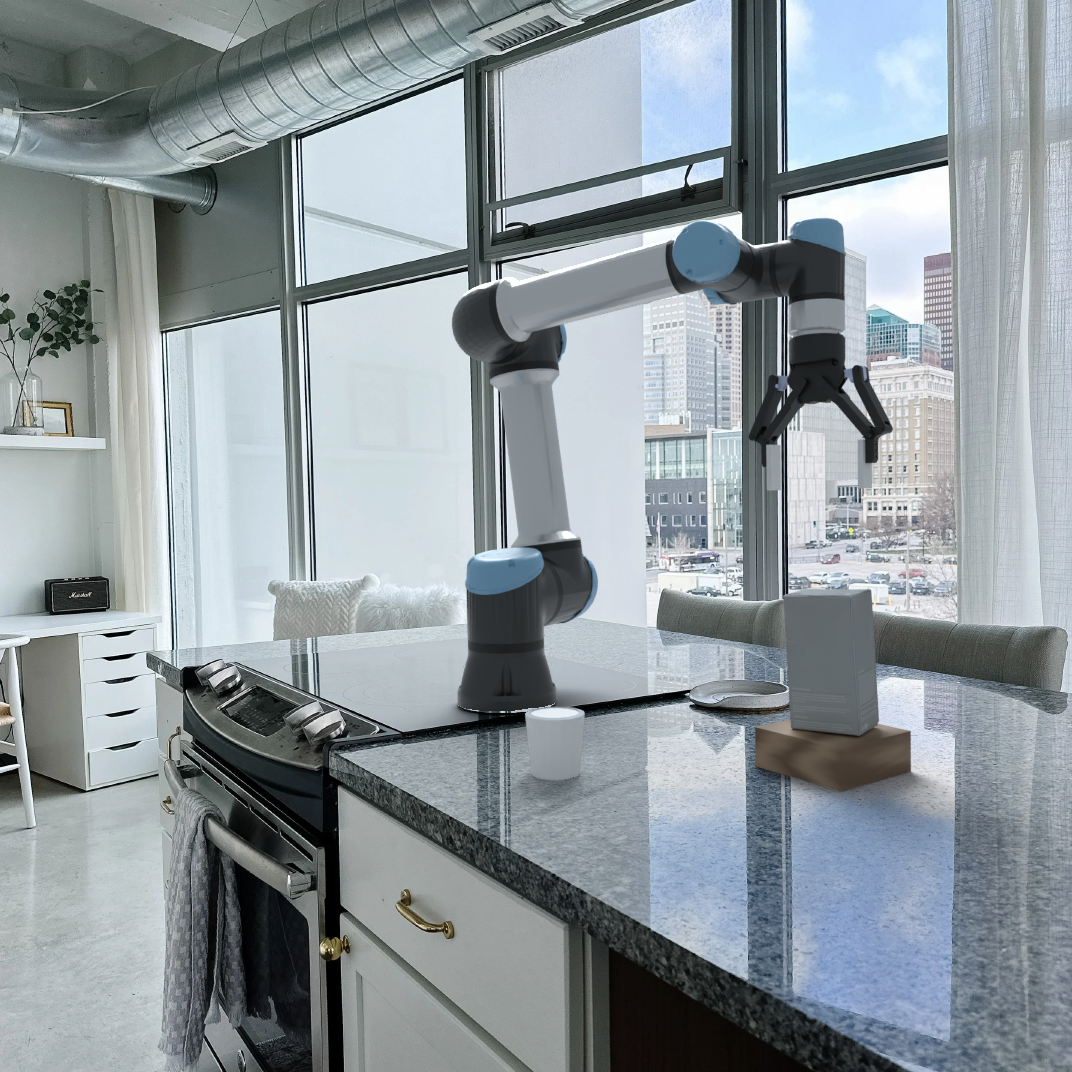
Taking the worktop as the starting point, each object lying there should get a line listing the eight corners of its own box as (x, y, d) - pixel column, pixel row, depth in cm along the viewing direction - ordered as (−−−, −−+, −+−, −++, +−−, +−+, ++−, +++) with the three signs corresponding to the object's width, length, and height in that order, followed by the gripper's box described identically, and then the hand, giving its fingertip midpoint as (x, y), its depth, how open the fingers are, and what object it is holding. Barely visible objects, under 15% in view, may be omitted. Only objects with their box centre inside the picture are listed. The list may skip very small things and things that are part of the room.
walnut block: (755, 770, 110) (755, 727, 110) (823, 752, 117) (823, 712, 116) (841, 795, 100) (841, 748, 100) (910, 775, 107) (910, 731, 106)
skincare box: (879, 727, 108) (879, 588, 108) (856, 740, 103) (855, 593, 102) (808, 717, 113) (807, 585, 113) (782, 729, 108) (781, 590, 107)
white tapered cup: (581, 783, 105) (580, 720, 104) (520, 780, 106) (518, 718, 106) (590, 765, 111) (589, 706, 111) (532, 763, 113) (531, 704, 112)
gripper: (918, 326, 126) (918, 487, 126) (751, 349, 143) (752, 490, 144) (894, 319, 120) (895, 487, 121) (724, 343, 137) (725, 491, 138)
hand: (817, 489), depth 132 cm, fingers open, 13 cm apart
